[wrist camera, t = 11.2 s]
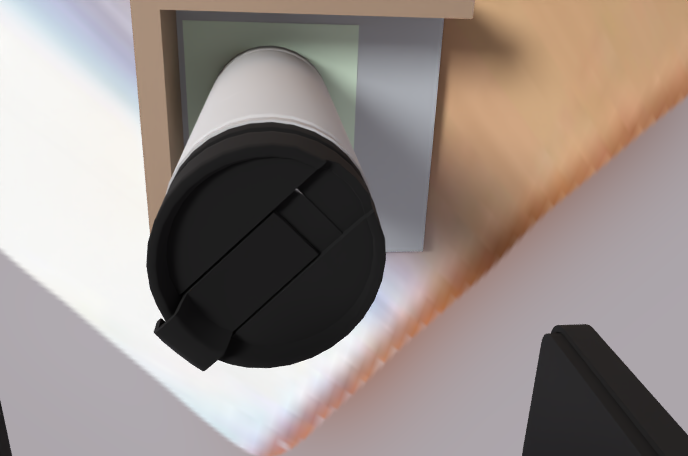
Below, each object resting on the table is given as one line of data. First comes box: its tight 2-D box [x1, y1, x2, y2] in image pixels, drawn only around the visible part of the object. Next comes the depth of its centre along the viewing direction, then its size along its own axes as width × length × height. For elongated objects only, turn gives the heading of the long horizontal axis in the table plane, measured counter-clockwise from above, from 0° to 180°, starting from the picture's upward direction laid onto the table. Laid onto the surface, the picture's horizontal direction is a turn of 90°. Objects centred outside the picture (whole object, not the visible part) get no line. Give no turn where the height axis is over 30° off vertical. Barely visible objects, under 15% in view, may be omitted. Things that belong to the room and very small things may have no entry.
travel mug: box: [146, 46, 386, 371], centre depth 25 cm, size 6×7×20 cm
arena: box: [130, 0, 475, 252], centre depth 33 cm, size 15×15×6 cm
